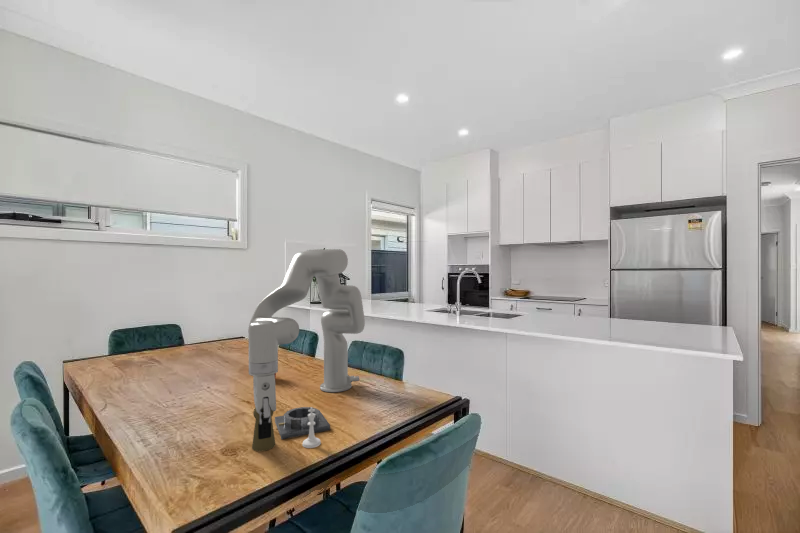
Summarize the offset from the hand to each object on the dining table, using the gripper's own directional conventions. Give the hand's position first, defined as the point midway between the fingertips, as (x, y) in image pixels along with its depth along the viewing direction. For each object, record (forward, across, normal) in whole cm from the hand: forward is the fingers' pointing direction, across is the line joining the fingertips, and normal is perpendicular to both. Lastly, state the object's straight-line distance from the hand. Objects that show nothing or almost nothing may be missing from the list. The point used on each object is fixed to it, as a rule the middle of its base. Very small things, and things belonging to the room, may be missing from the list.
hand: (263, 433), depth 104 cm
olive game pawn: (+3, 0, 0) cm, 3 cm away
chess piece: (+4, -5, -12) cm, 13 cm away
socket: (+3, +9, -12) cm, 15 cm away
